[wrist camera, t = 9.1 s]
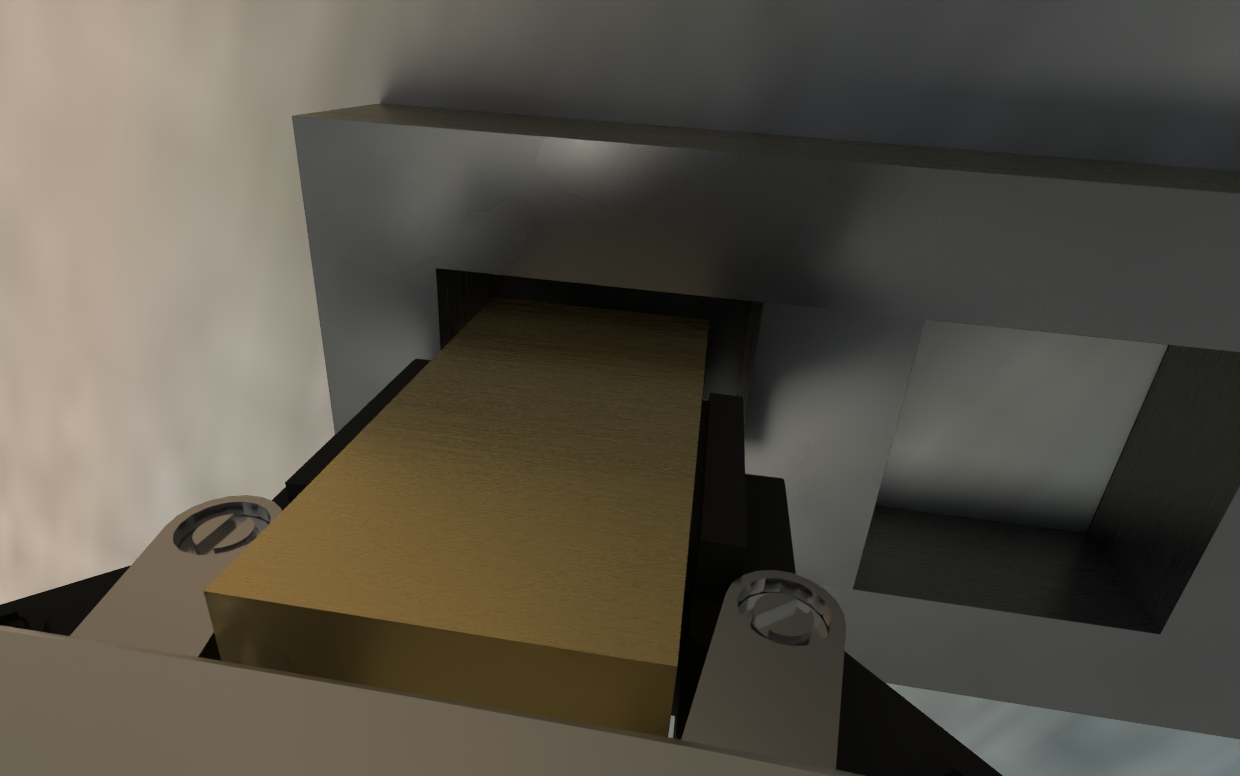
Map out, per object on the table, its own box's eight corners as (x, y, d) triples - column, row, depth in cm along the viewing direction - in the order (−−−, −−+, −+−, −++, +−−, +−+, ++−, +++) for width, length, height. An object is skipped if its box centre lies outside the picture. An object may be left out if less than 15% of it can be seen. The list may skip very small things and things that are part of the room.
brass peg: (709, 319, 13) (677, 667, 5) (686, 503, 14) (640, 947, 7) (494, 296, 13) (203, 591, 6) (497, 477, 15) (276, 873, 8)
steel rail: (1952, 228, 11) (2343, 284, 8) (1544, 682, 15) (1715, 814, 13) (378, 103, 14) (291, 116, 11) (413, 518, 18) (357, 598, 15)
